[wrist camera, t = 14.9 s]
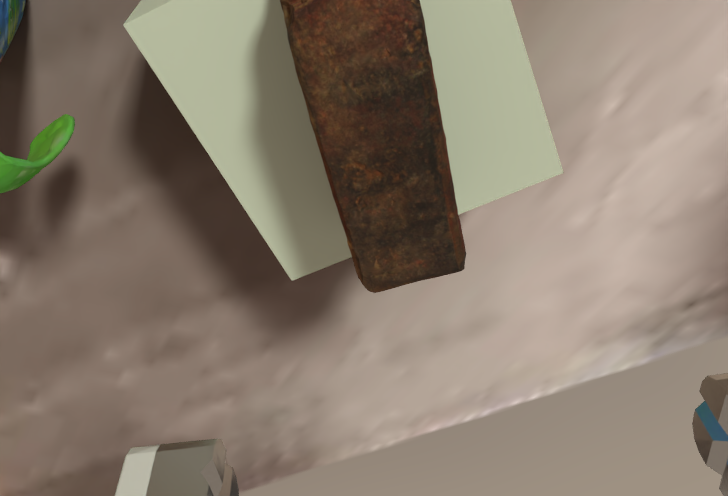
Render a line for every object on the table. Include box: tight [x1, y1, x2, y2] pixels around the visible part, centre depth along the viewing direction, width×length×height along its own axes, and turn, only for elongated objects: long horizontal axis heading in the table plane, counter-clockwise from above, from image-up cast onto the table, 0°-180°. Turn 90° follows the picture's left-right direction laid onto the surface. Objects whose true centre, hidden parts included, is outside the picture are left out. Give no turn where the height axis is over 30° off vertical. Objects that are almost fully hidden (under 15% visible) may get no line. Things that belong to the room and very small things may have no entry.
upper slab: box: [123, 0, 563, 281], centre depth 26 cm, size 12×12×4 cm
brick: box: [280, 0, 466, 293], centre depth 22 cm, size 11×4×5 cm, turn 13°
